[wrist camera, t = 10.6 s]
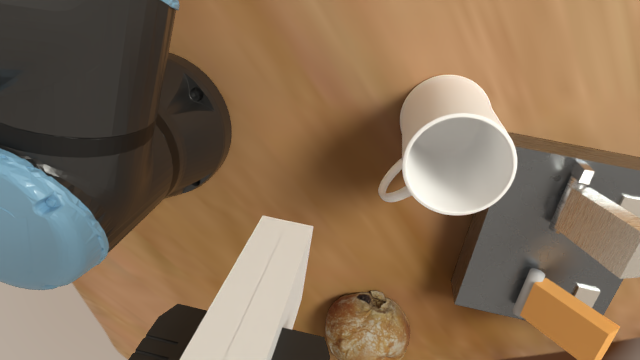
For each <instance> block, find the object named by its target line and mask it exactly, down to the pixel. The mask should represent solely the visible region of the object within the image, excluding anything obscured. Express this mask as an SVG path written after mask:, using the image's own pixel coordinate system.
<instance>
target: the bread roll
mask: <svg viewBox="0 0 640 360" xmlns="http://www.w3.org/2000/svg"><path fill="white" fill-rule="evenodd" d="M325 334H326V339H327V343H328V345H329V347H330V350H331V352H332V353H333V354H334V355H335V356H336V358H337V359H338V360H400V359H401V358H402V357H403V356H404V353H405V352H406V350H407V346H408V344H409V339H410V325H409V322H408V320H407V318H406V316H405V314H404V313H403V312H402V310H401V309H400V307H399V306H398V305H397V304H396V303H395V302H394V301H392V300H391V299H388V298H385V296H384V294H383V293H382V292H379V291H370V292H367V293H366V292H365V293H356V294H351V295H344V296H342V297H340V298H339V299H337V300H336V301H335V302H334V303H333V304H332V306H331V307H330V309H329V311H328V314H327V318H326V323H325Z"/></svg>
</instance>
